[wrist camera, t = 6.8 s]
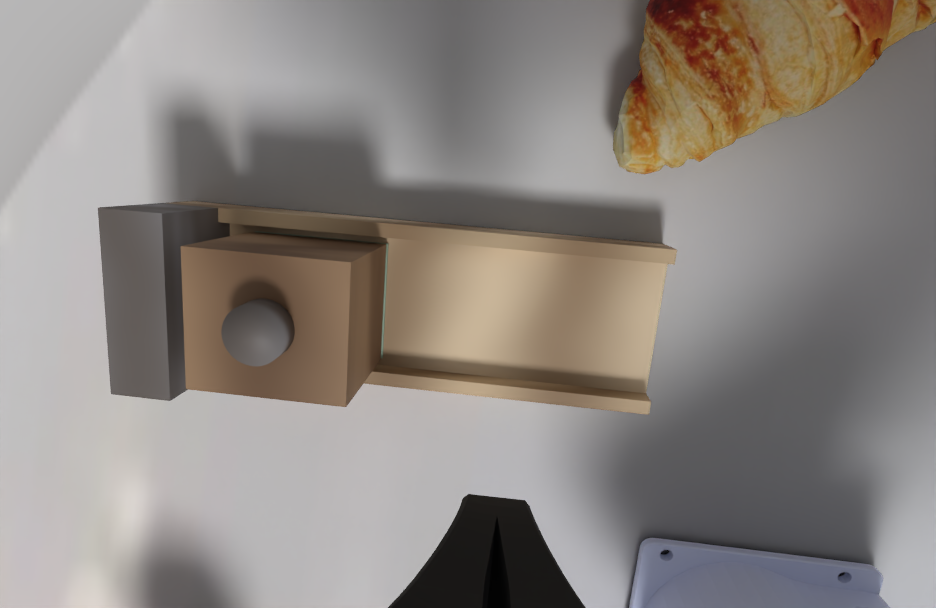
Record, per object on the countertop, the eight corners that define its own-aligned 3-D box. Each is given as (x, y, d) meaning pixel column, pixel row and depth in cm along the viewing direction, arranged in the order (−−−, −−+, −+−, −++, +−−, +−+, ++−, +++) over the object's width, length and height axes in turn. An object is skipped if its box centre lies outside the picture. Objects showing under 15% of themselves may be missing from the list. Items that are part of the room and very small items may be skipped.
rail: (663, 243, 20) (709, 264, 15) (637, 395, 22) (673, 458, 17) (192, 201, 21) (98, 207, 17) (197, 348, 23) (110, 394, 18)
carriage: (385, 244, 20) (341, 266, 15) (380, 360, 21) (337, 418, 16) (251, 231, 20) (163, 249, 15) (252, 346, 21) (170, 399, 16)
